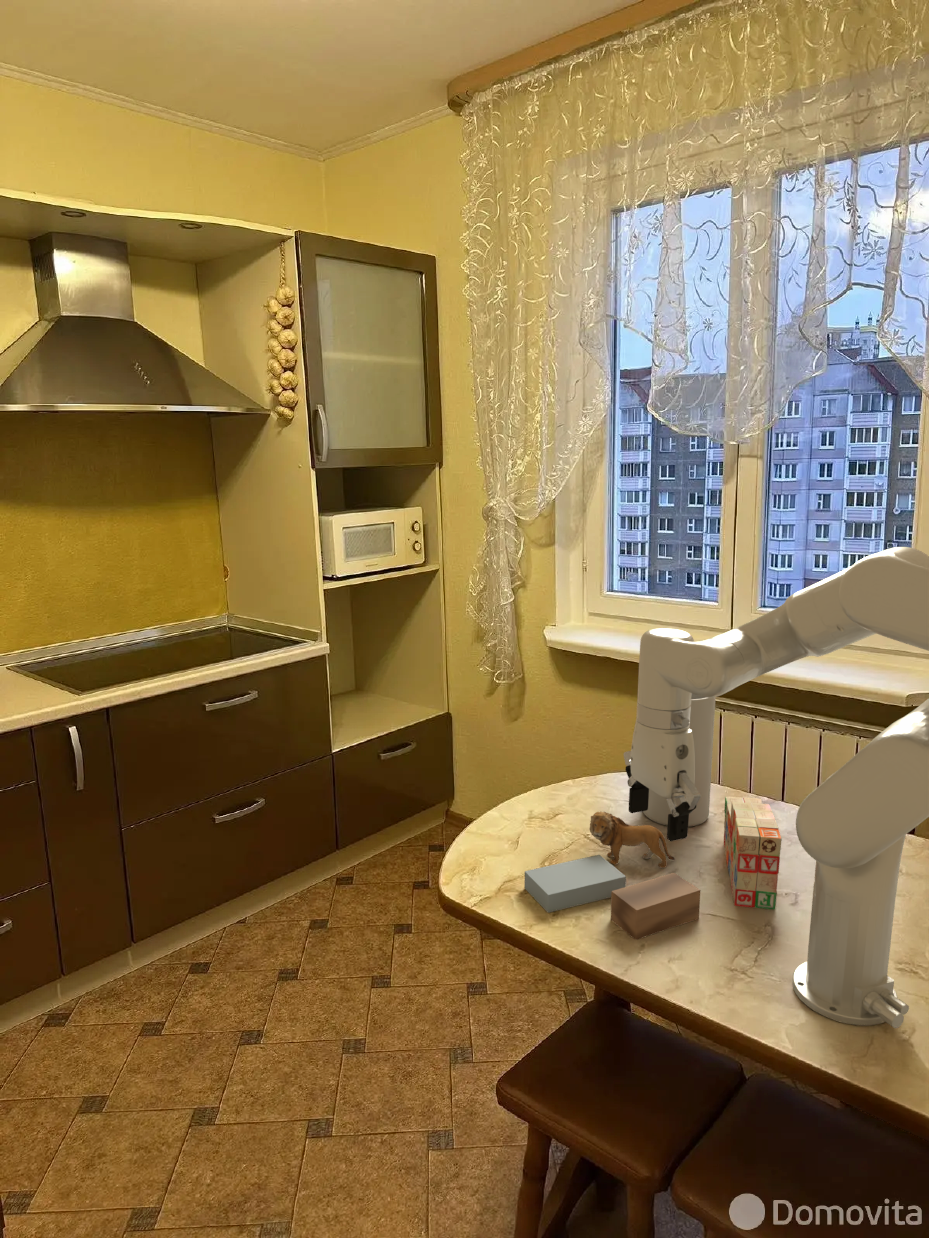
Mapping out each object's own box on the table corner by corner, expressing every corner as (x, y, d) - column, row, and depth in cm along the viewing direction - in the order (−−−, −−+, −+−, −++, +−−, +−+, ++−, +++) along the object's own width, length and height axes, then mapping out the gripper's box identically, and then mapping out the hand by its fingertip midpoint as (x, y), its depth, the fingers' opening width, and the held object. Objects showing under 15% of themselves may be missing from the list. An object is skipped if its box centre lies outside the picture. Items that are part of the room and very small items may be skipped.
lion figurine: (590, 868, 147) (591, 818, 145) (587, 853, 152) (588, 805, 150) (677, 869, 146) (680, 819, 144) (671, 854, 152) (673, 806, 150)
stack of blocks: (722, 843, 156) (726, 779, 153) (758, 846, 154) (763, 781, 152) (734, 906, 135) (738, 833, 132) (776, 910, 134) (782, 837, 131)
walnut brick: (698, 919, 132) (700, 889, 131) (635, 941, 126) (636, 910, 125) (672, 901, 137) (673, 872, 136) (610, 921, 132) (611, 891, 130)
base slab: (625, 893, 139) (626, 876, 138) (548, 912, 133) (548, 894, 133) (598, 870, 146) (599, 854, 145) (524, 888, 141) (524, 871, 140)
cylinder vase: (631, 817, 166) (635, 692, 160) (657, 795, 176) (662, 676, 170) (694, 834, 159) (701, 704, 153) (718, 810, 169) (725, 687, 163)
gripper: (723, 730, 118) (715, 845, 122) (650, 694, 134) (644, 797, 138) (678, 738, 116) (671, 855, 119) (608, 700, 131) (603, 805, 135)
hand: (656, 824), depth 129 cm, fingers open, 9 cm apart
